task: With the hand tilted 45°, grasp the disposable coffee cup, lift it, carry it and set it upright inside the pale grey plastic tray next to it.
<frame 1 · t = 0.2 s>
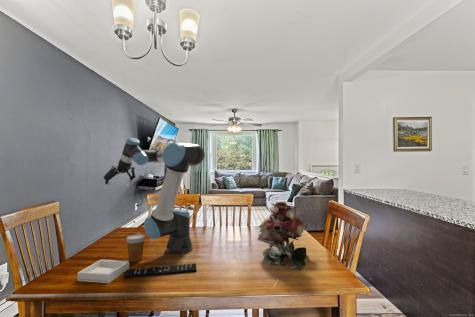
hand: (116, 187, 165), 35 cm above the table, tool tilted 35°, fingers open, 13 cm apart
disposable coffee cup: (135, 259, 131), on the table
remote control: (161, 273, 116), on the table
rose bouquet: (281, 258, 133), on the table
tray: (104, 274, 114), on the table
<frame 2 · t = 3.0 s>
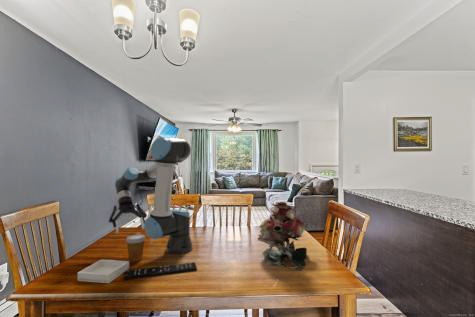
hand: (130, 229, 139), 14 cm above the table, tool tilted 45°, fingers open, 13 cm apart
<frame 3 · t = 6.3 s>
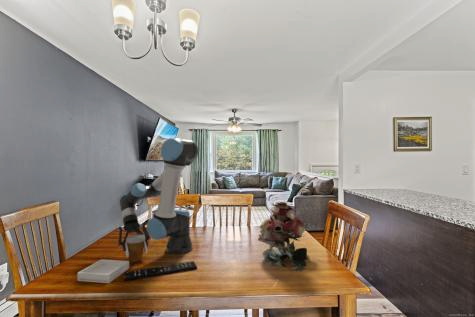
hand: (137, 254, 128), 4 cm above the table, tool tilted 45°, fingers closed on disposable coffee cup, 8 cm apart
disposable coffee cup: (135, 259, 131), on the table, touching gripper
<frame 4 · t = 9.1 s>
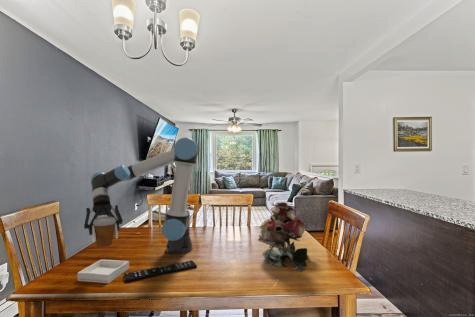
hand: (105, 238, 112), 17 cm above the table, tool tilted 45°, fingers closed on disposable coffee cup, 8 cm apart
disposable coffee cup: (104, 245, 115), point 13 cm above the table, touching gripper
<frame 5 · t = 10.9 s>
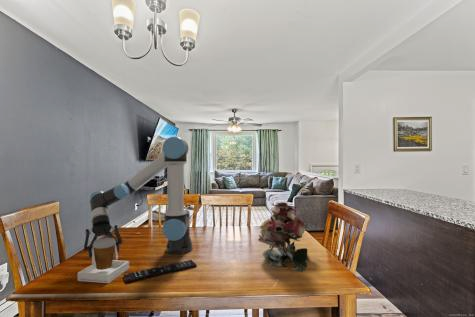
hand: (105, 261, 111), 7 cm above the table, tool tilted 45°, fingers closed on disposable coffee cup, 8 cm apart
disposable coffee cup: (104, 267, 114), point 3 cm above the table, touching gripper
when the fingers open (6 cm above the table, at t = 12.0 s): disposable coffee cup drops 1 cm, resting on tray.
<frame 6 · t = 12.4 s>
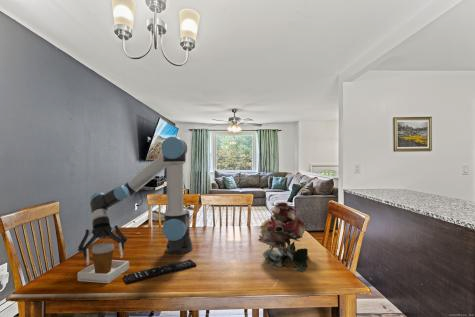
hand: (105, 260, 112), 7 cm above the table, tool tilted 45°, fingers open, 13 cm apart
disposable coffee cup: (103, 272, 114), point 1 cm above the table, touching tray
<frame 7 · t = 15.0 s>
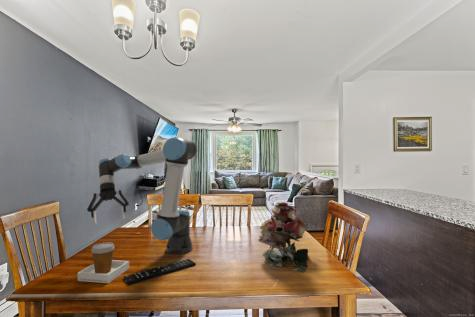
hand: (109, 220, 133), 20 cm above the table, tool tilted 30°, fingers open, 13 cm apart
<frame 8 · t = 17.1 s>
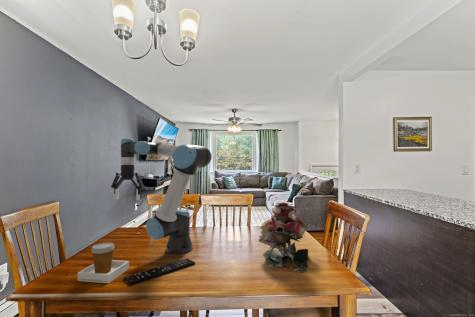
hand: (127, 199, 150), 29 cm above the table, tool pointing down, fingers open, 13 cm apart
at the end: disposable coffee cup inside the target area on the tray (0.9 cm from its centre), point 0.8 cm above the tray's base; disposable coffee cup tilted 0°; the gripper is holding nothing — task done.
